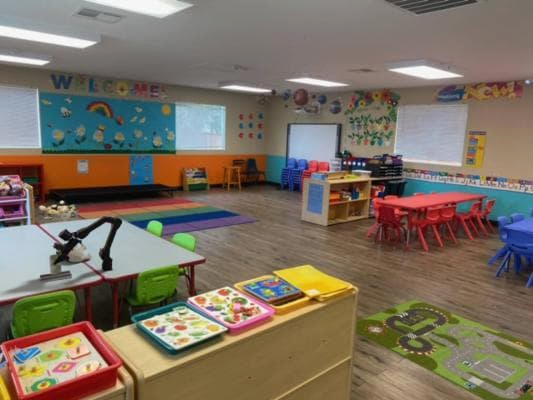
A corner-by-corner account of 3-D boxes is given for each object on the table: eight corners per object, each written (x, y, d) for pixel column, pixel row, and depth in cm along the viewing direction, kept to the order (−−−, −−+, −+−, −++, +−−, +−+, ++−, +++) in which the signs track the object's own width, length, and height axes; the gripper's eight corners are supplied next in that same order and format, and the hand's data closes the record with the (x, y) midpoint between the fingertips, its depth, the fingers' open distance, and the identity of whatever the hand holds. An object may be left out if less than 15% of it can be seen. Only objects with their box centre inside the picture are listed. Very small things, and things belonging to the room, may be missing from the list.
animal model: (74, 234, 311) (55, 239, 298) (94, 252, 301) (74, 258, 288) (72, 247, 316) (53, 253, 303) (91, 265, 306) (72, 272, 293)
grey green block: (60, 271, 268) (59, 253, 266) (61, 273, 265) (60, 255, 263) (50, 272, 265) (49, 255, 262) (51, 274, 261) (50, 256, 259)
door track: (69, 273, 275) (69, 269, 274) (72, 277, 267) (71, 274, 266) (39, 277, 264) (39, 274, 264) (41, 282, 256) (41, 279, 256)
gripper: (58, 235, 270) (41, 252, 266) (63, 241, 255) (44, 260, 251) (71, 244, 276) (54, 262, 272) (76, 251, 261) (59, 270, 257)
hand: (53, 263), depth 263 cm, fingers closed on grey green block, 4 cm apart
